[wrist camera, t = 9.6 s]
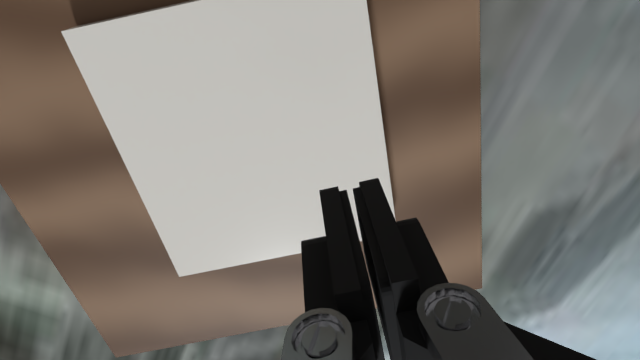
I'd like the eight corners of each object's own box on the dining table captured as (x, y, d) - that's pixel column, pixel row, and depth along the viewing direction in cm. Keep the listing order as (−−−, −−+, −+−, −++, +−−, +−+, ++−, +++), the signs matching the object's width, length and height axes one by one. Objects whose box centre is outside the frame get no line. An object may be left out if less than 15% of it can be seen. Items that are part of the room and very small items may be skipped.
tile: (74, 26, 17) (357, -38, 17) (184, 262, 24) (392, 221, 23) (61, 31, 16) (361, -37, 16) (179, 276, 23) (397, 234, 22)
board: (-163, -117, 16) (-203, -123, 15) (461, -269, 15) (477, -291, 14) (124, 338, 29) (115, 357, 27) (473, 272, 28) (482, 288, 26)
